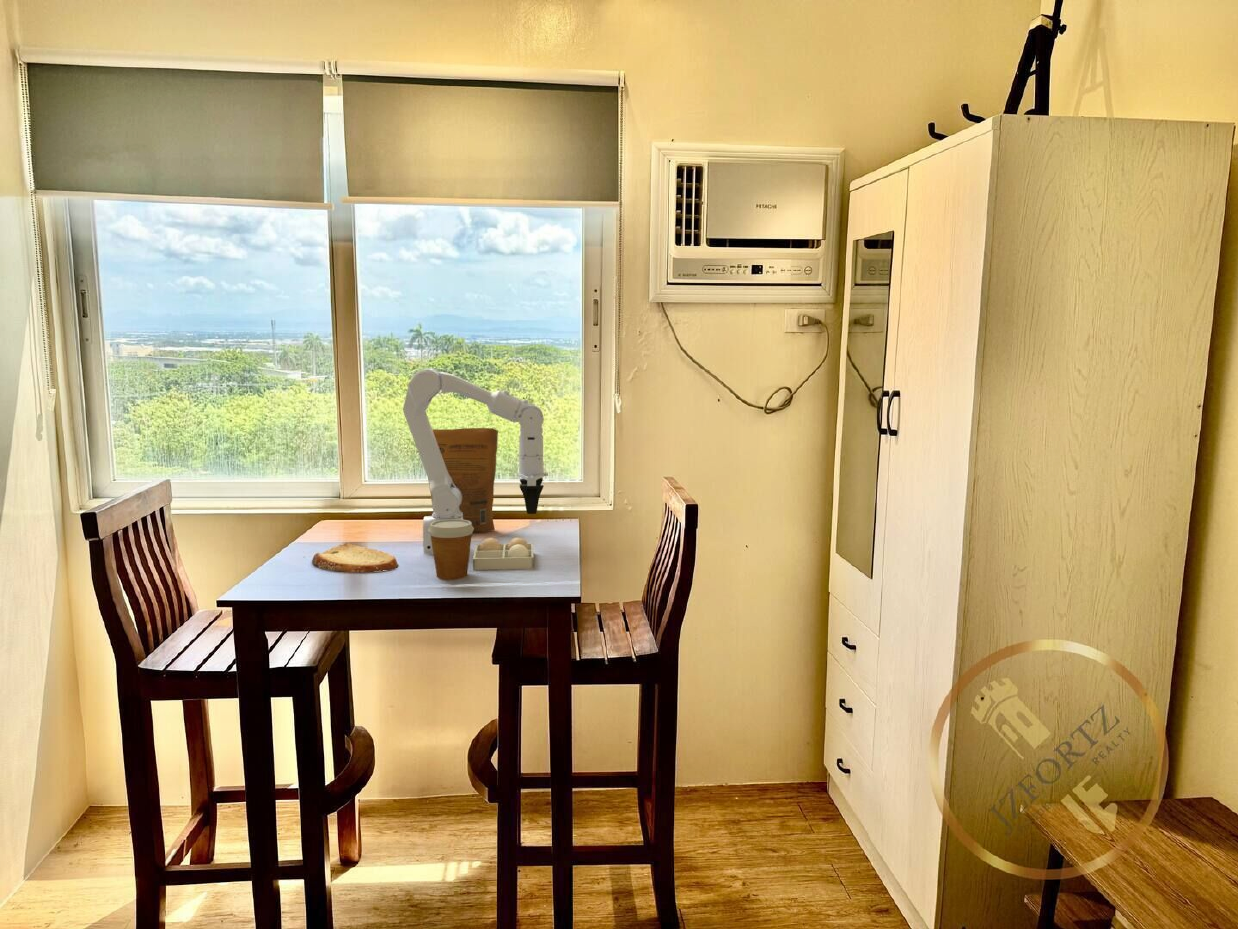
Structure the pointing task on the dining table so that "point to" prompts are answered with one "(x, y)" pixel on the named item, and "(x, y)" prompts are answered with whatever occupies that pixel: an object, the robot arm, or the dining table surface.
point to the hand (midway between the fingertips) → (531, 510)
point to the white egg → (518, 551)
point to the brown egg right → (518, 542)
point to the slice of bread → (354, 559)
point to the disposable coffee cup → (451, 547)
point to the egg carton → (501, 559)
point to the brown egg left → (490, 545)
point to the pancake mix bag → (471, 471)
